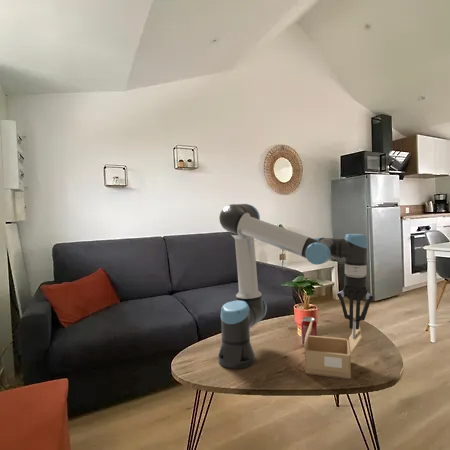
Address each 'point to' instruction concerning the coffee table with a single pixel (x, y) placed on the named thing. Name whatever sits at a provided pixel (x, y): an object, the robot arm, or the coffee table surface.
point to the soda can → (305, 325)
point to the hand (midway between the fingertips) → (353, 337)
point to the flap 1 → (308, 333)
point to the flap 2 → (355, 340)
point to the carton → (328, 357)
